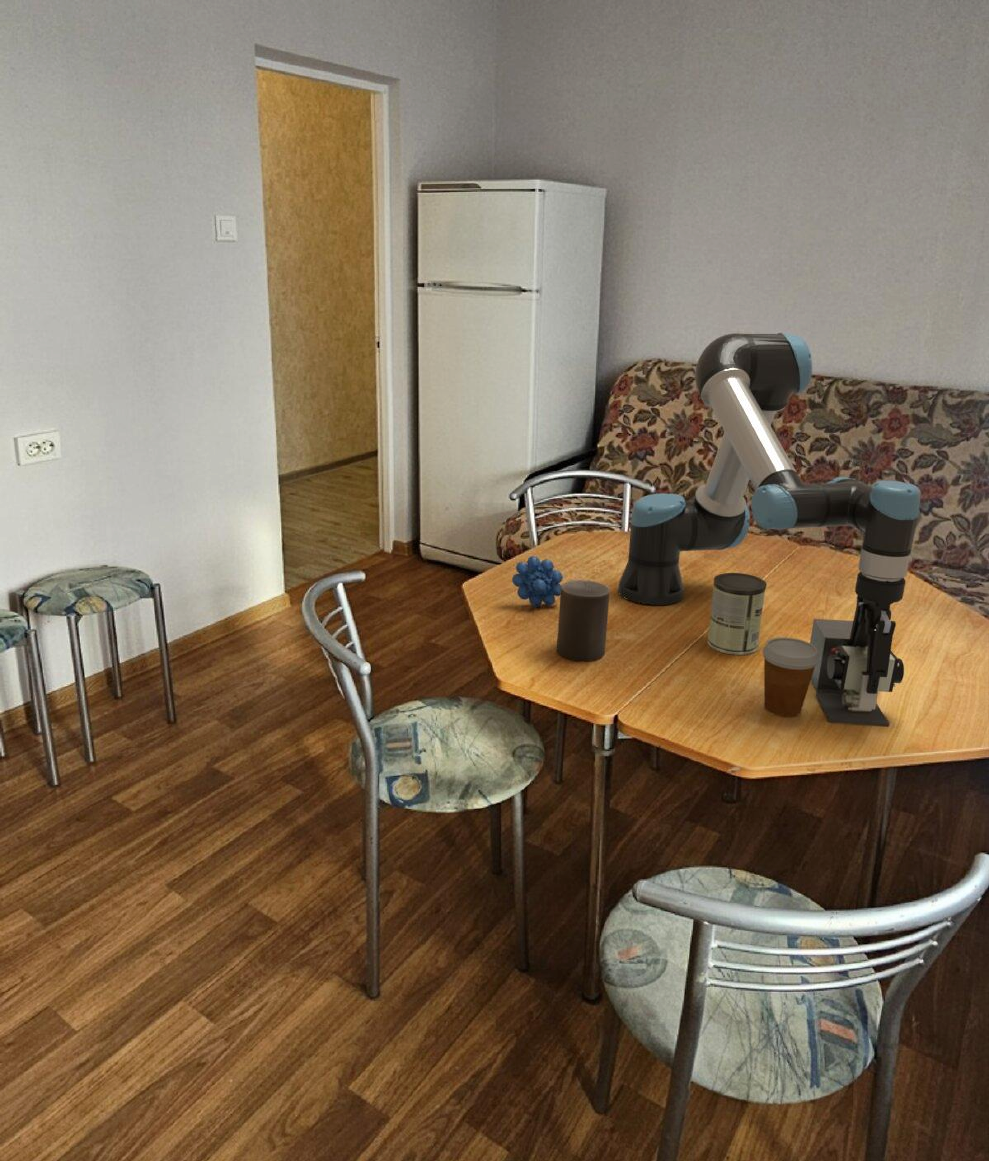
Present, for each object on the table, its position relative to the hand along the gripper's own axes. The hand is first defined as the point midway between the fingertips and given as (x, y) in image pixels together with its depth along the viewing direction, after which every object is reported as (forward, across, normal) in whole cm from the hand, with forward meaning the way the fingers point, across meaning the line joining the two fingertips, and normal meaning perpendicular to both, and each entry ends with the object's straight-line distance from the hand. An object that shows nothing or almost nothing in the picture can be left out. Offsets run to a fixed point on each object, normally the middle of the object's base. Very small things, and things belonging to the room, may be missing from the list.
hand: (860, 697), depth 159 cm
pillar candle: (+3, +19, +49) cm, 52 cm away
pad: (+3, +1, +1) cm, 3 cm away
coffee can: (+3, +27, +18) cm, 32 cm away
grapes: (+2, +40, +59) cm, 72 cm away
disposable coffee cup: (+3, 0, +13) cm, 13 cm away
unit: (+3, +12, +1) cm, 12 cm away
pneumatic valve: (+3, +1, 0) cm, 3 cm away
